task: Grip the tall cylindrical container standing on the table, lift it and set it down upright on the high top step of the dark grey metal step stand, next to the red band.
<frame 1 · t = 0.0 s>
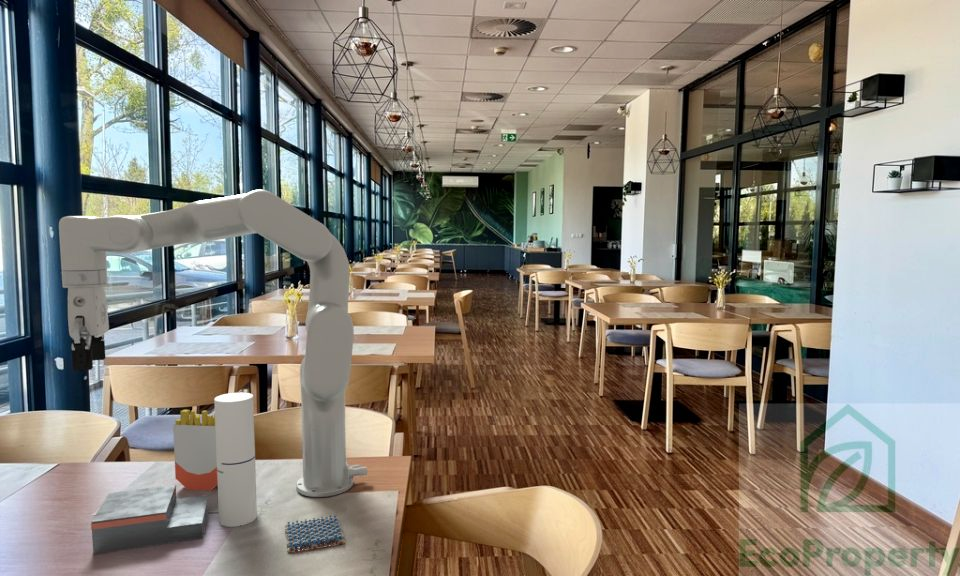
hand: (89, 364, 123), 31 cm above the table, tool pointing down, fingers open, 9 cm apart
step stand: (155, 529, 120), on the table
french fries container: (204, 486, 140), on the table
cylindrical container: (238, 519, 125), on the table
woven mat: (314, 539, 117), on the table
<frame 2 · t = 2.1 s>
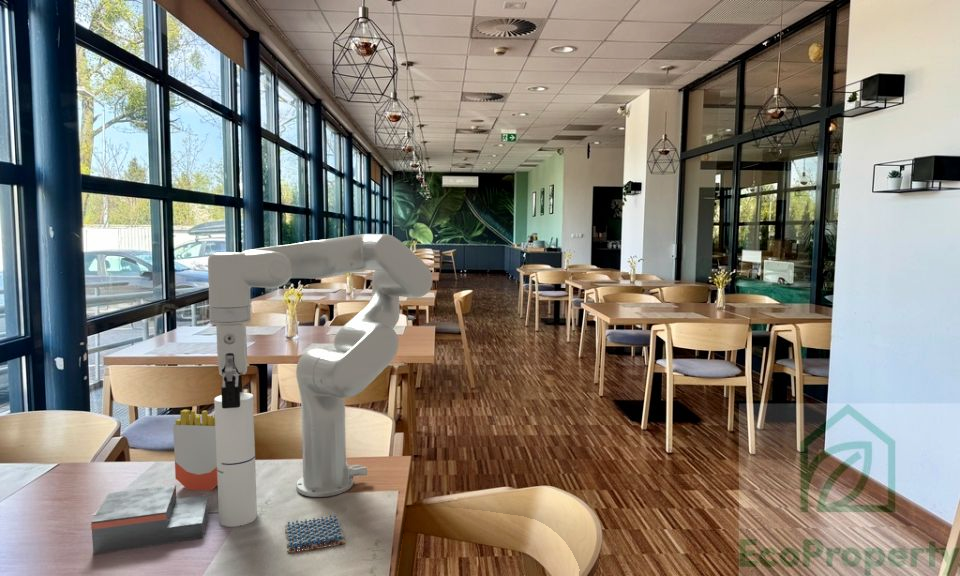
hand: (232, 401, 122), 24 cm above the table, tool pointing down, fingers open, 9 cm apart
nothing on the table moved.
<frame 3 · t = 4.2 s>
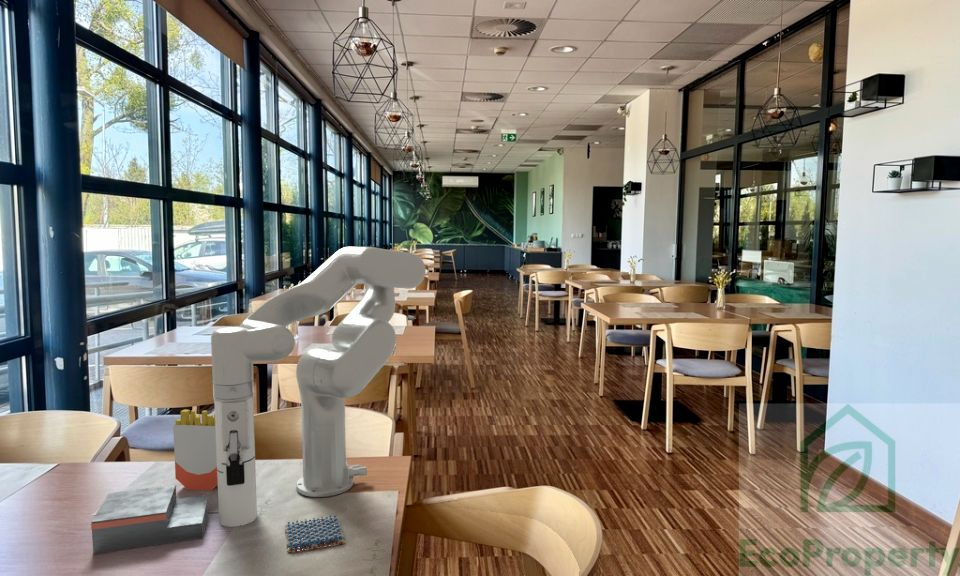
hand: (236, 476, 124), 9 cm above the table, tool pointing down, fingers closed on cylindrical container, 7 cm apart
cylindrical container: (238, 519, 125), on the table, touching gripper
everything else where it was.
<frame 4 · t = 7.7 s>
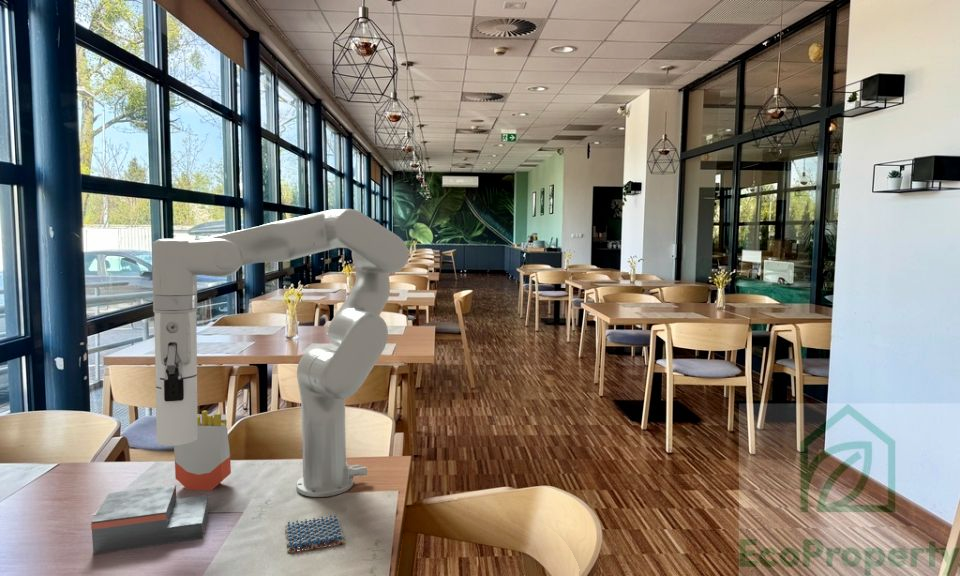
hand: (176, 394, 119), 26 cm above the table, tool pointing down, fingers closed on cylindrical container, 7 cm apart
cylindrical container: (177, 440, 119), point 17 cm above the table, touching gripper
everything else where it was.
when the fingers open (16 cm above the table, at t = 11.0 s): cylindrical container drops 1 cm, resting on step stand.
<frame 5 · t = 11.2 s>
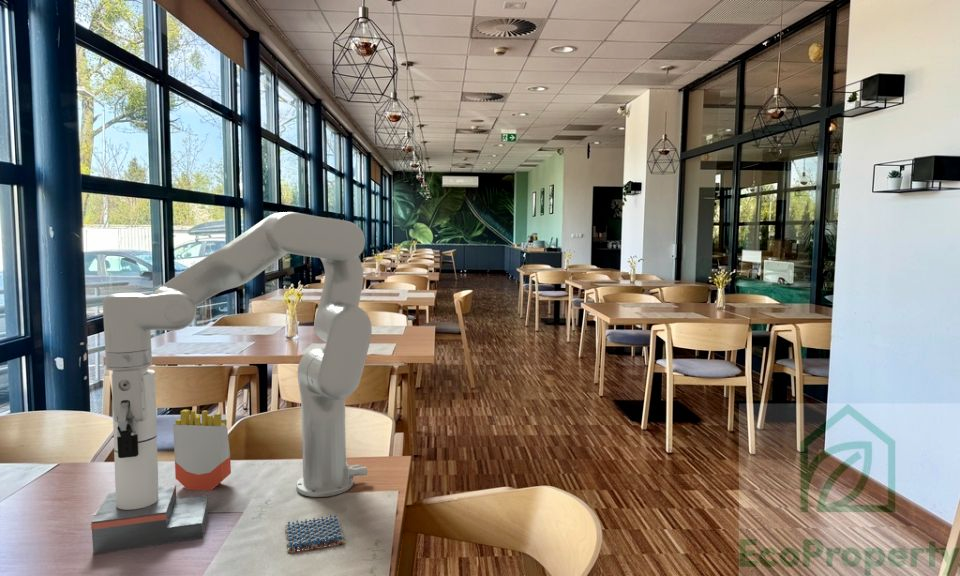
hand: (133, 448, 117), 17 cm above the table, tool pointing down, fingers open, 9 cm apart
cylindrical container: (137, 502, 118), point 6 cm above the table, touching step stand
everything else where it was.
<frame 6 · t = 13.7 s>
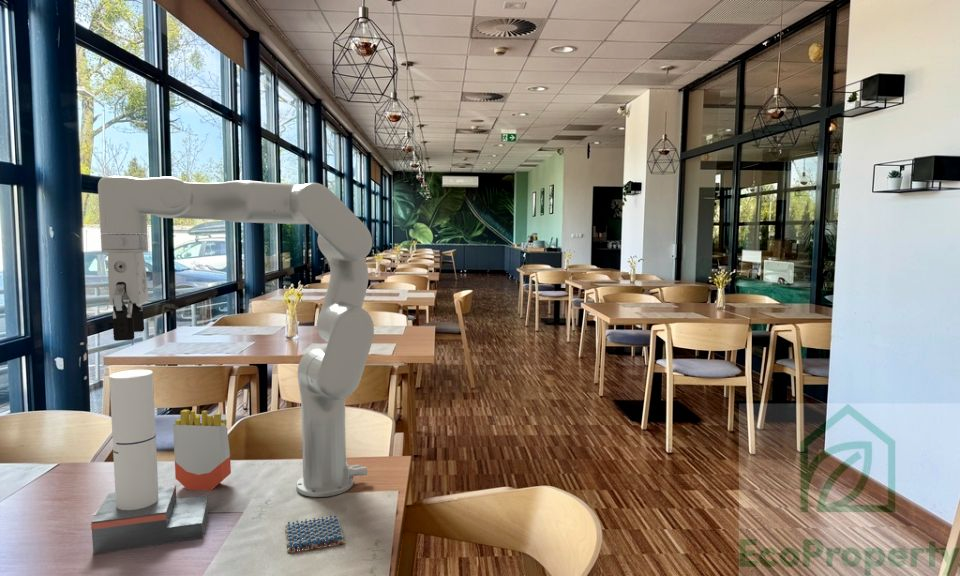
hand: (129, 335, 116), 38 cm above the table, tool pointing down, fingers open, 9 cm apart
nothing on the table moved.
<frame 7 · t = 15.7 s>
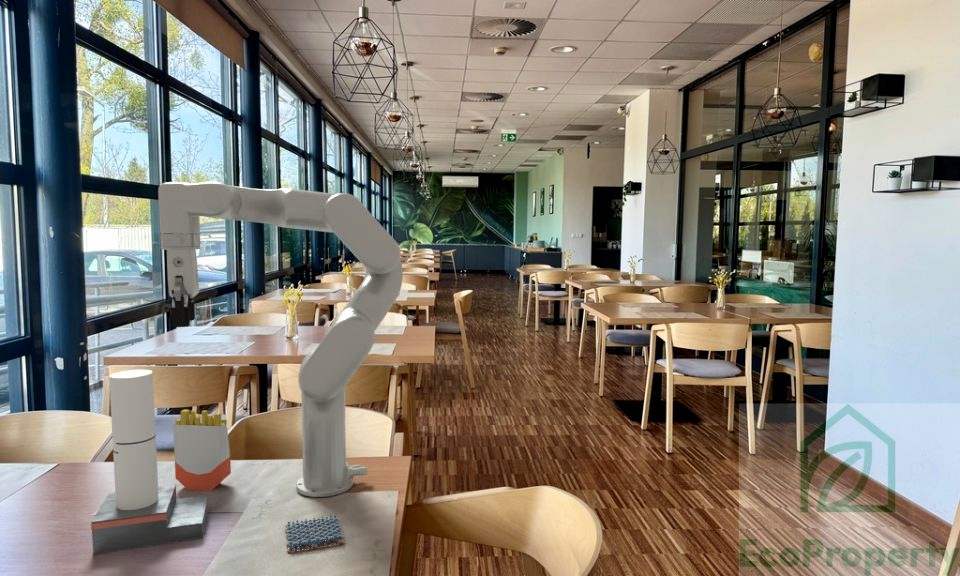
hand: (184, 323, 130), 38 cm above the table, tool pointing down, fingers open, 9 cm apart
nothing on the table moved.
at the end: cylindrical container inside the target area on the step stand (0.2 cm from its centre), point 5.8 cm above the step stand's base; cylindrical container tilted 0°; the gripper is holding nothing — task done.
